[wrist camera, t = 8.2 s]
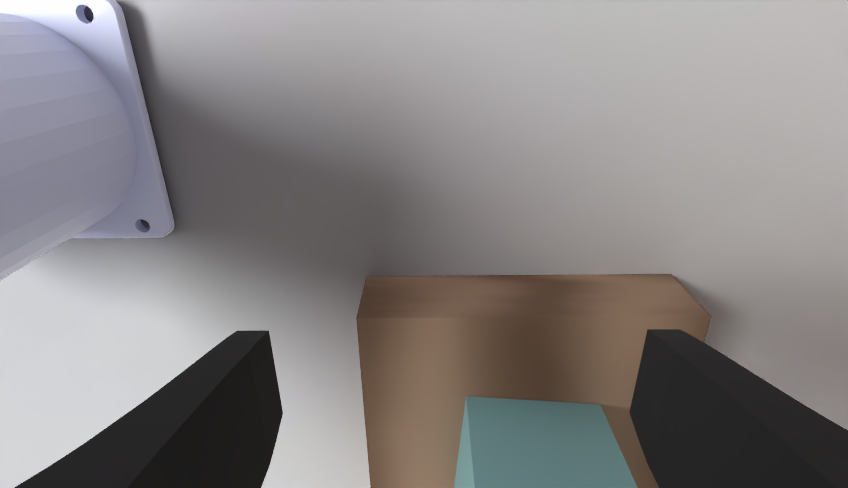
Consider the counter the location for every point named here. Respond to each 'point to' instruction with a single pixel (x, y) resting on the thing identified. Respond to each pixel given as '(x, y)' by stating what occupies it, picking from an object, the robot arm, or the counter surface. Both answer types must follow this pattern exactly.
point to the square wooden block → (502, 357)
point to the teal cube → (538, 446)
